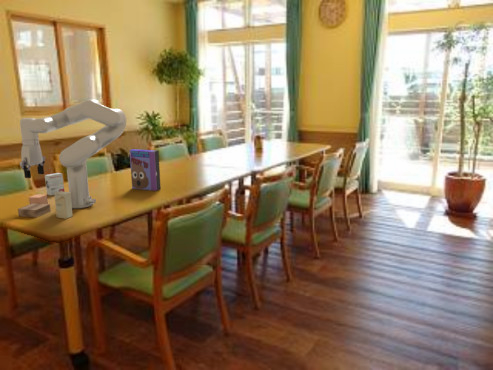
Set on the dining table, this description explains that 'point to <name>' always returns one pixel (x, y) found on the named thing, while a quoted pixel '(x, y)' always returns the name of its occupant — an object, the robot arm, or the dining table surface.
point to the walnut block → (34, 210)
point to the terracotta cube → (38, 199)
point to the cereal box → (145, 169)
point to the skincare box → (63, 204)
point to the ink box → (54, 183)
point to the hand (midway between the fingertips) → (34, 175)
